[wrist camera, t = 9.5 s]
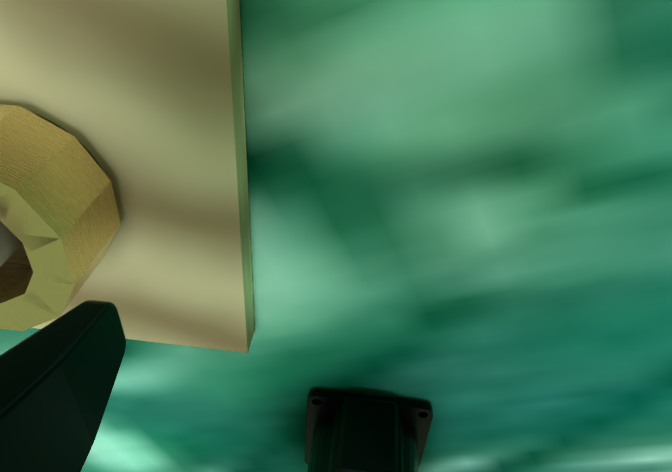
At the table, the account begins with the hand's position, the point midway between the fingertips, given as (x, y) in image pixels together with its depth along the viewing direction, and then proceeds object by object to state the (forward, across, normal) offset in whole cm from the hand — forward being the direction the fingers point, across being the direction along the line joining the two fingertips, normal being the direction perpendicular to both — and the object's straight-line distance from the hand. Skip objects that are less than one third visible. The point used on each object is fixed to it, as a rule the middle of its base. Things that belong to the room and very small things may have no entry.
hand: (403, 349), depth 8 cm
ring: (+10, +14, +5) cm, 17 cm away
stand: (+12, +14, +5) cm, 19 cm away
